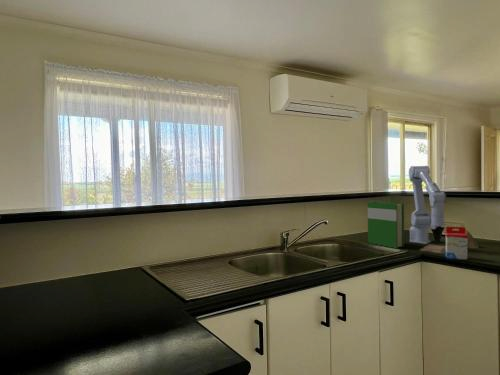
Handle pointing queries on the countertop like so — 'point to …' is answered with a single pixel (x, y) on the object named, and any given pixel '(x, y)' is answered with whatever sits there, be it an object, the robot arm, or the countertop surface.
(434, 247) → the tile
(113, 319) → the countertop surface
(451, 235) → the ink box
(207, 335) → the countertop surface
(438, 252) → the mat
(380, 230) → the hardback book
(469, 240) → the rock
